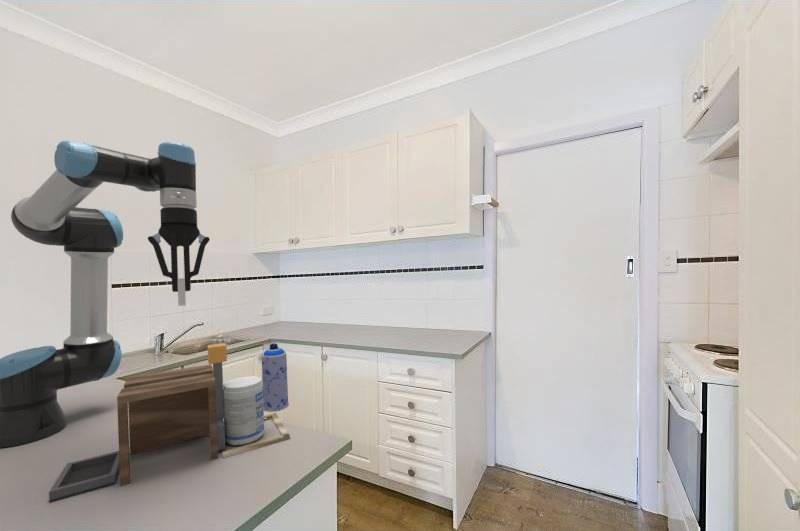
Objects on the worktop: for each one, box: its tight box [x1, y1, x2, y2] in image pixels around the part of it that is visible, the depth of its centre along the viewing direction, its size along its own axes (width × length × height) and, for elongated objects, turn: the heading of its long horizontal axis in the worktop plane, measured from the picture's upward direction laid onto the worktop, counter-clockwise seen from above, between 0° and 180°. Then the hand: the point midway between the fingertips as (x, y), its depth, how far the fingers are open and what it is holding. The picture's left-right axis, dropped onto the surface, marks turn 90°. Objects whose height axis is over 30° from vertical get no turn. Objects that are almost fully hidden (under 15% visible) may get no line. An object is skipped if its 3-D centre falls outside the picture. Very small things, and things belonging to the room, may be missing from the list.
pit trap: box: [48, 450, 120, 503], centre depth 75 cm, size 12×10×2 cm
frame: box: [221, 412, 291, 459], centre depth 93 cm, size 17×16×1 cm
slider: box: [207, 342, 228, 452], centre depth 89 cm, size 12×4×24 cm, turn 32°
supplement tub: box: [223, 375, 265, 446], centre depth 91 cm, size 10×10×15 cm
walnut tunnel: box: [116, 363, 219, 487], centre depth 83 cm, size 16×18×18 cm
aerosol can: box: [261, 343, 290, 413], centre depth 111 cm, size 8×8×20 cm
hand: (182, 305), depth 85 cm, fingers closed
